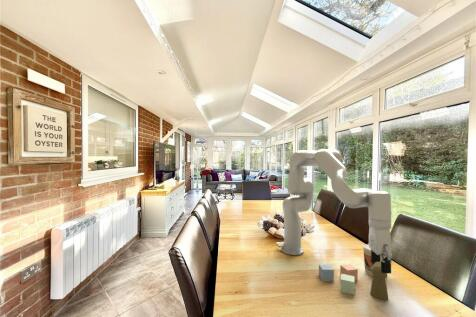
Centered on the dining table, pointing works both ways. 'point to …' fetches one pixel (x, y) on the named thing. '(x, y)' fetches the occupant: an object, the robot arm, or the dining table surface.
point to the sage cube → (347, 284)
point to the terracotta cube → (349, 271)
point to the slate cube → (326, 272)
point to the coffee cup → (368, 262)
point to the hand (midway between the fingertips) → (380, 266)
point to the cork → (379, 285)
